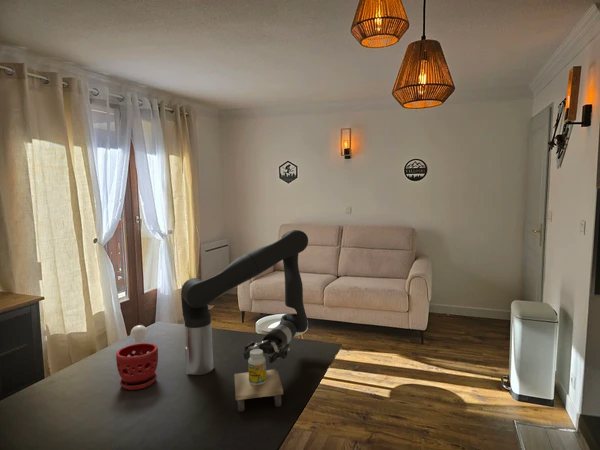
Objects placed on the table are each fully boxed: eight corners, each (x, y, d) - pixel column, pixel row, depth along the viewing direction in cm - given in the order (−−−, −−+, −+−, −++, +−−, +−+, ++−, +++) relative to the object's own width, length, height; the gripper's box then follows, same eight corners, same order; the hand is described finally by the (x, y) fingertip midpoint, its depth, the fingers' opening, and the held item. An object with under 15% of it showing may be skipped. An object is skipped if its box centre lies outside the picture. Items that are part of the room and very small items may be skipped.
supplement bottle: (269, 378, 126) (268, 348, 125) (262, 387, 121) (261, 356, 120) (253, 376, 127) (252, 347, 126) (245, 384, 122) (244, 354, 121)
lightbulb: (138, 356, 157) (136, 329, 156) (128, 353, 160) (126, 326, 159) (152, 350, 162) (150, 324, 161) (142, 347, 166) (140, 321, 165)
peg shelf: (236, 413, 116) (235, 396, 116) (235, 389, 130) (234, 373, 129) (283, 407, 119) (283, 390, 118) (277, 384, 133) (277, 369, 132)
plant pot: (163, 385, 134) (161, 351, 132) (121, 397, 127) (118, 361, 126) (155, 370, 145) (153, 338, 144) (116, 380, 138) (113, 347, 137)
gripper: (259, 326, 141) (236, 344, 126) (296, 330, 136) (278, 349, 121) (259, 346, 142) (237, 367, 127) (297, 351, 137) (279, 373, 122)
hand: (257, 358), depth 124 cm, fingers open, 8 cm apart
